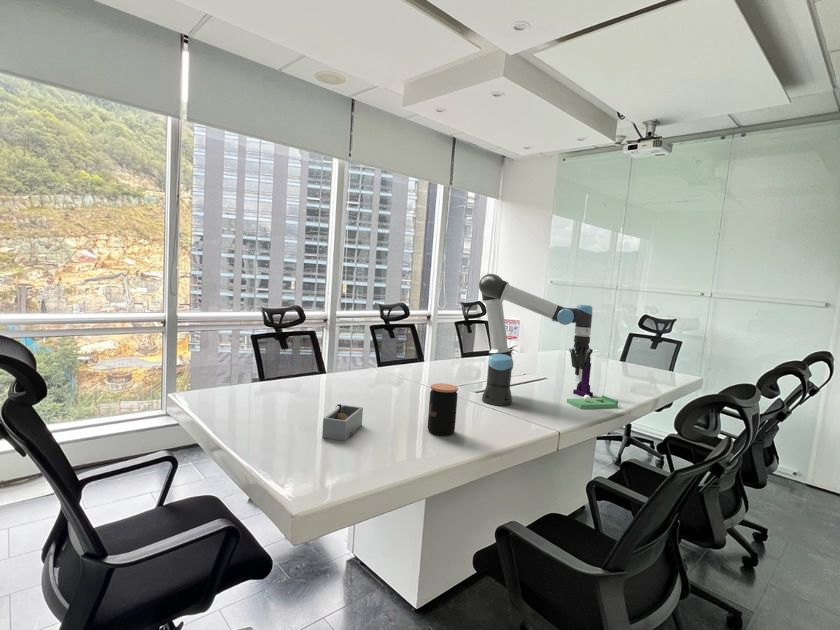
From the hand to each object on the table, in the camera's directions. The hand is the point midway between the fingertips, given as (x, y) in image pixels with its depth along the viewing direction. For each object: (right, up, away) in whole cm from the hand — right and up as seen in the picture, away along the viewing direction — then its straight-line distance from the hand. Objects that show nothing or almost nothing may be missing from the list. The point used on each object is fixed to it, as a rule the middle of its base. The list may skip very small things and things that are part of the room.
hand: (578, 381), depth 229 cm
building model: (+11, -12, +26) cm, 30 cm away
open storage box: (-109, -10, -61) cm, 126 cm away
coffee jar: (-73, -12, -54) cm, 91 cm away
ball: (+5, -11, +3) cm, 13 cm away
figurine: (-110, -9, -60) cm, 126 cm away
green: (+9, -13, +4) cm, 16 cm away
